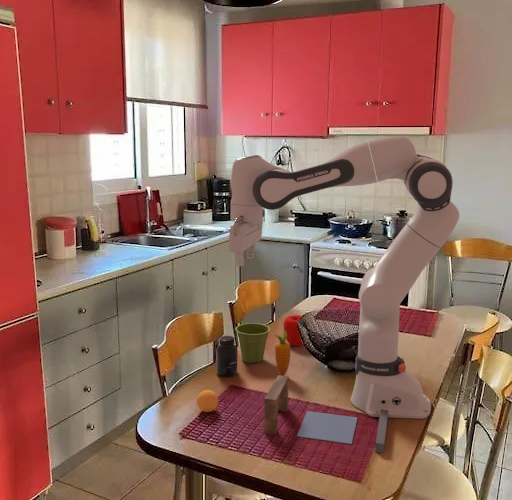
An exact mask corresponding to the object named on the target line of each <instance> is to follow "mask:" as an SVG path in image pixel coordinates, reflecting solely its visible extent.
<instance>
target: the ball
mask: <svg viewBox="0 0 512 500" xmlns="http://www.w3.org/2000/svg"><path fill="white" fill-rule="evenodd" d="M196 404H197V407H198V409H199V410H200V411H201V412H204V413H209V412H213V411H214V410H216V408H217V407H218V405H219V397H218V395H217V393H216V392H215V391H214V390H212V389H211V390H210V389H206V390H202V391H201V392H200V393H199V394H198V395H197V398H196Z"/></svg>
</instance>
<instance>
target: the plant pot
mask: <svg viewBox="0 0 512 500" xmlns="http://www.w3.org/2000/svg"><path fill="white" fill-rule="evenodd" d="M234 330H235V331H236V333H237V337H238V340H239V341H238V343H239V349H240V354H241V360H242V361H243V362H245V363H249V364H254V363H260V362H262V361H263V360H264V357H265V352H266V351H265V350H266V345H267V341H268V340H267V339H268V336H269V333H270V332H271V328H270V326H268V325H267V324H263V323H258V322H250V323H242V324H239V325H237V326H236V327H235V329H234Z"/></svg>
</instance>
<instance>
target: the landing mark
mask: <svg viewBox="0 0 512 500" xmlns="http://www.w3.org/2000/svg"><path fill="white" fill-rule="evenodd" d="M357 422H358V417H356V416H348V415H341V414H334V413H325V412H318V411H317V412H316V411H312V410H311V411H309V410H307V411H306V412H305V415H304V418H303V420H302V422H301V425H300V427H299V430H298V432H297V434H296V437H297V438H304V439H311V440H318V441H326V442H333V443H339V444H346V445H352V443H353V440H354V435H355V431H356V426H357Z"/></svg>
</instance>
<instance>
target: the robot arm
mask: <svg viewBox="0 0 512 500" xmlns="http://www.w3.org/2000/svg"><path fill="white" fill-rule="evenodd" d="M393 179H394V180H395V179H397V180H401V181H403V183H404V185H405V187H406V190H407V191H408V193H409V194H410V196H412V197H413V199H414V200H415V201H416V202H417V207H416V210H415V212H414V214H413V215H412V216H411V218H410V219H408V221H407V222H406V224H405V225H404V226H403V228H402V229H401V230H400V231H399V233H398V234H397V236H395V238H394V239H393V241H392V242H391V243H390V244H389V246H388V248H387V249H386V251H385V252H384V253H383V255H382V256H381V258H380V260H379V261H378V263H377V264H376V265H375V266H373V267H372V268H370V269H369V270H367V271H366V273H365V274H364V275H363V277H362V280H361V284H360V286H359V287H360V288H359V291H358V300H359V301H358V302H359V304H360V310H359V320H358V321H359V323H358V324H359V325H358V340H357V341H358V345H357V353H356V356H355V374H356V375H355V381H354V386H353V390H352V393H351V397H350V403H351V404H352V405H353V406H354V407H356V408H357V409H359V410H361V411H363V412H365V414H367V415H368V416H369V417H372V418H380V411H381V409H383V410H388V418H396V419H397V418H398V419H399V418H400V419H418V420H419V419H426V418H428V417H429V416H430V415H431V412H432V405H431V400H430V398H429V397H428V396H427V395H425V394H424V390H423V387H422V385H421V383H420V381H419V380H418V379H417V378H415V377H414V376H413V375H412V374H411V373H409V372H408V371H407V369H406V368H407V366H406V364H405V359H404V357H403V356H401V357H400V355H398V354H399V353H398V352H399V351H398V349H399V334H400V333H399V331H400V309H401V303H402V302H403V300H404V299H405V298H406V296H407V294H408V293H409V292H410V291H411V290H412V287H413V286H414V285H415V284H416V281H417V280H418V278H419V276H420V275H421V273H423V271H424V269H425V268H426V267H427V266H428V264H429V263H430V262H431V261H432V260H433V258H434V257H435V256H436V254H437V253H438V252H439V251H440V250H441V248H442V247H443V246H444V244H445V243H446V242H447V240H448V239H449V237H450V236H451V234H453V233H452V232H453V231H454V230H455V228H456V226H457V224H458V222H459V220H460V212H459V210H458V208H457V206H456V205H455V204H454V203H453V202H452V201H451V196H452V191H453V185H454V184H453V182H454V181H453V176H452V173H451V171H450V170H449V169H448V168H447V166H446V165H445V164H444V163H443V162H441V161H440V160H438V159H435V158H433V157H429V156H425V155H422V154H417V152H416V148H415V146H414V144H413V142H412V141H411V139H409V138H408V137H407V136H402V135H401V136H400V135H398V136H388V137H382V138H377V139H372V140H369V141H364V142H360V143H357V144H355V145H353V146H351V147H348V148H346V149H344V150H343V151H340V152H339V153H338V154H337V155H336V156H334V157H333V158H330V159H329V160H328V161H326V162H322V163H319V164H317V165H314V166H310V167H306V168H303V169H299V170H295V171H290V170H287V169H286V168H282V167H279V166H277V165H274V164H273V163H270V162H269V161H267V160H265V159H264V158H263V157H262V156H261V155H257V154H254V155H251V154H250V155H247V156H241V157H238V158H237V159H235V161H234V162H233V163H232V168H231V177H230V190H231V195H232V196H231V198H230V199H231V200H230V221H232V222H234V223H232V224H231V225H230V229H229V234H228V235H229V237H228V250H229V253H234V256H235V259H236V266H237V267H243V266H244V265H245V258H244V253H245V252H244V251H246V250H247V251H246V259H247V260H252V259H254V258H255V257H254V256H255V255H254V253H255V250H256V244H257V243H258V242H260V241H261V238H262V233H263V224H264V222H263V221H264V218H265V216H266V211H265V210H269V211H270V210H271V211H275V210H278V209H281V208H283V207H284V206H285V205H287V204H288V203H289V202H290V201H292V200H293V199H295V198H297V197H300V196H302V195H306V194H310V193H314V192H318V191H321V190H325V189H329V188H330V189H331V188H337V187H354V186H356V187H357V186H365V185H371V184H375V183H379V182H383V181H386V180H393Z"/></svg>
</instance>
